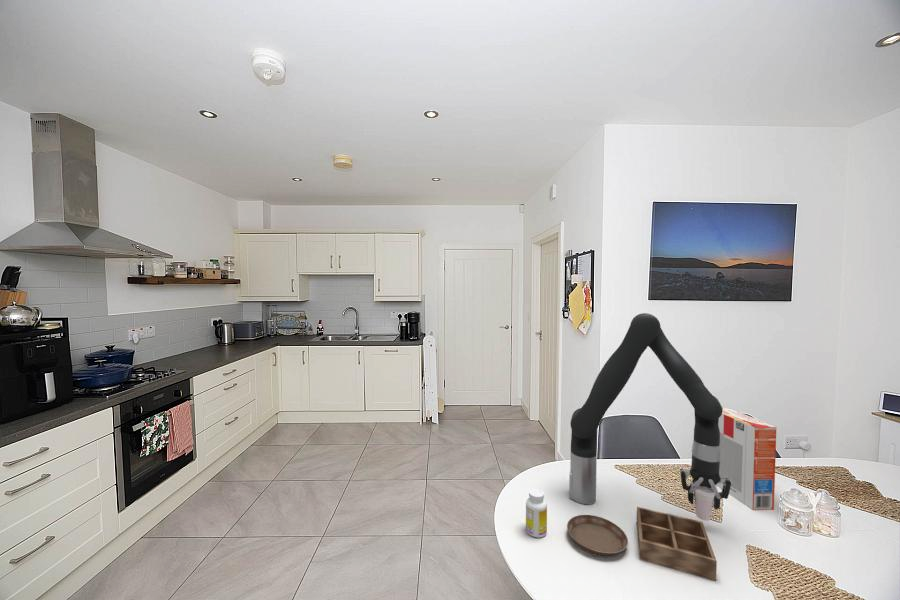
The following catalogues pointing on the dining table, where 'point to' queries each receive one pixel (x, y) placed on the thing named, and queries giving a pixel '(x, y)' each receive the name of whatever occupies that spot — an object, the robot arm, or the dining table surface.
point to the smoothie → (703, 502)
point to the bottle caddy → (675, 543)
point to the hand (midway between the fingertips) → (703, 505)
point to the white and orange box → (748, 459)
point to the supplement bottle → (536, 514)
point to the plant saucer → (597, 535)
